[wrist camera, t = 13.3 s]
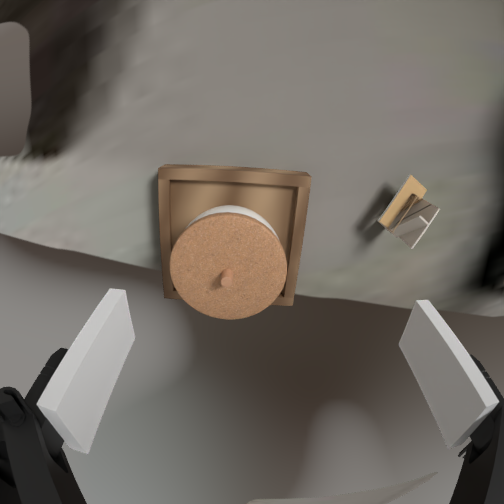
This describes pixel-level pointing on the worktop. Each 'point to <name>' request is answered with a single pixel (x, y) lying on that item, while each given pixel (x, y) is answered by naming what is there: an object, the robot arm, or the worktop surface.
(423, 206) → the architectural model
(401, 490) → the worktop surface
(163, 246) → the wooden tray
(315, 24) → the worktop surface
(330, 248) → the worktop surface
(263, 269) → the lidded jar
